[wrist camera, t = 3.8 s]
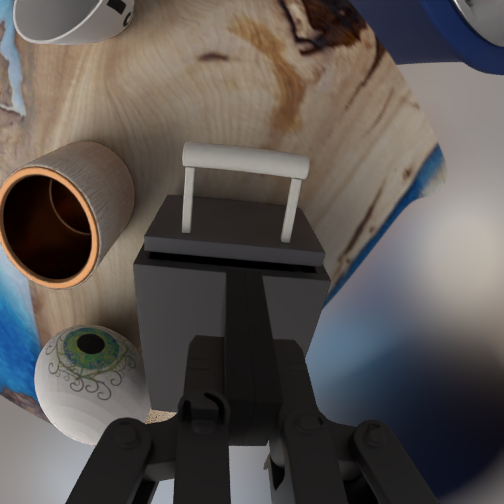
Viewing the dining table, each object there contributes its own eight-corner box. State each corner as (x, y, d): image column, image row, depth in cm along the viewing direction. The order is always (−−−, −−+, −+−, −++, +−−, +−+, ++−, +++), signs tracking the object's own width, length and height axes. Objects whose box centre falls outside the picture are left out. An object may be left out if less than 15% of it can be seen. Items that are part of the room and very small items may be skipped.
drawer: (172, 127, 25) (145, 142, 17) (313, 143, 27) (346, 165, 19) (167, 329, 36) (155, 387, 28) (272, 337, 37) (281, 395, 30)
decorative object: (175, 327, 37) (157, 433, 24) (147, 390, 43) (131, 475, 30) (64, 281, 33) (8, 371, 20) (58, 354, 39) (23, 433, 26)
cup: (154, 39, 22) (117, 15, 13) (75, 65, 22) (15, 61, 13) (146, -31, 18) (112, -74, 9) (69, -3, 18) (13, -26, 9)
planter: (62, 246, 31) (21, 295, 22) (35, 154, 26) (-21, 182, 17) (147, 232, 31) (120, 286, 22) (124, 128, 26) (79, 145, 17)
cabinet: (162, 207, 30) (133, 263, 20) (301, 221, 31) (331, 280, 22) (164, 340, 38) (151, 409, 29) (271, 348, 40) (282, 417, 30)
